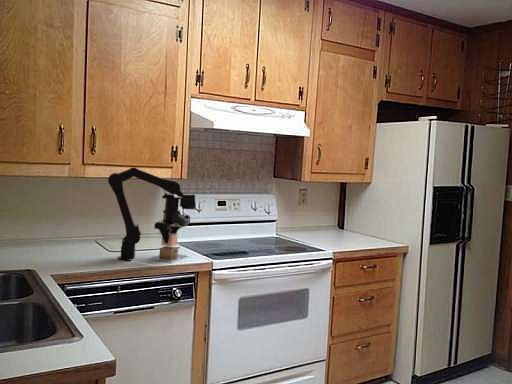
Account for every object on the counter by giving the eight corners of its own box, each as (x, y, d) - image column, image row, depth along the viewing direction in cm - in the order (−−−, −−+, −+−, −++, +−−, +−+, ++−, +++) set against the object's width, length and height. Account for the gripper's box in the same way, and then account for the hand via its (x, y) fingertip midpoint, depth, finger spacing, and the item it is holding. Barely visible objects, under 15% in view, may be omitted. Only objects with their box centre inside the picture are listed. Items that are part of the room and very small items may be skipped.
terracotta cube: (171, 246, 219) (172, 235, 219) (161, 244, 221) (162, 234, 220) (176, 244, 224) (177, 233, 224) (167, 243, 226) (167, 232, 225)
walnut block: (171, 260, 219) (171, 249, 219) (159, 258, 221) (159, 248, 221) (177, 258, 225) (178, 247, 224) (165, 256, 227) (166, 245, 226)
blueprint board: (170, 264, 215) (170, 263, 215) (146, 260, 219) (146, 259, 219) (189, 257, 232) (189, 255, 232) (167, 253, 236) (167, 252, 236)
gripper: (177, 212, 210) (175, 248, 211) (197, 208, 227) (194, 242, 229) (154, 209, 213) (152, 244, 215) (175, 206, 231) (173, 238, 232)
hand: (169, 242), depth 222 cm, fingers closed on terracotta cube, 5 cm apart
